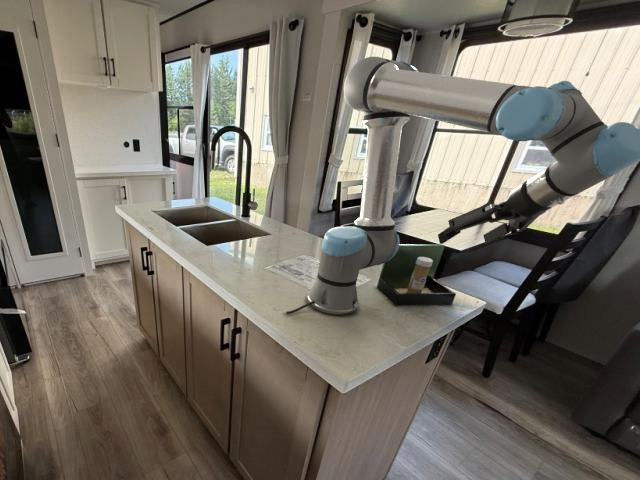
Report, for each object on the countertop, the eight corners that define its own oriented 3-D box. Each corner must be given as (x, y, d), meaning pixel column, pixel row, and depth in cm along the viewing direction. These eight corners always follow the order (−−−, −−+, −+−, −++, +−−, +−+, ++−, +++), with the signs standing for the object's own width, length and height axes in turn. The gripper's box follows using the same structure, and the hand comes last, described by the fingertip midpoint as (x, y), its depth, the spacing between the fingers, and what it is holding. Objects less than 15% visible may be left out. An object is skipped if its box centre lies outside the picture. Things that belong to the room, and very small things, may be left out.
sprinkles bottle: (413, 300, 107) (426, 262, 101) (402, 294, 111) (414, 257, 104) (423, 297, 109) (436, 260, 103) (411, 291, 113) (424, 255, 106)
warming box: (395, 305, 103) (410, 258, 96) (376, 287, 114) (388, 244, 107) (451, 304, 106) (470, 258, 98) (428, 287, 117) (443, 244, 109)
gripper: (491, 208, 66) (423, 252, 86) (598, 210, 69) (507, 252, 89) (482, 176, 68) (417, 226, 88) (585, 179, 71) (500, 227, 91)
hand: (462, 239), depth 88 cm, fingers open, 13 cm apart
